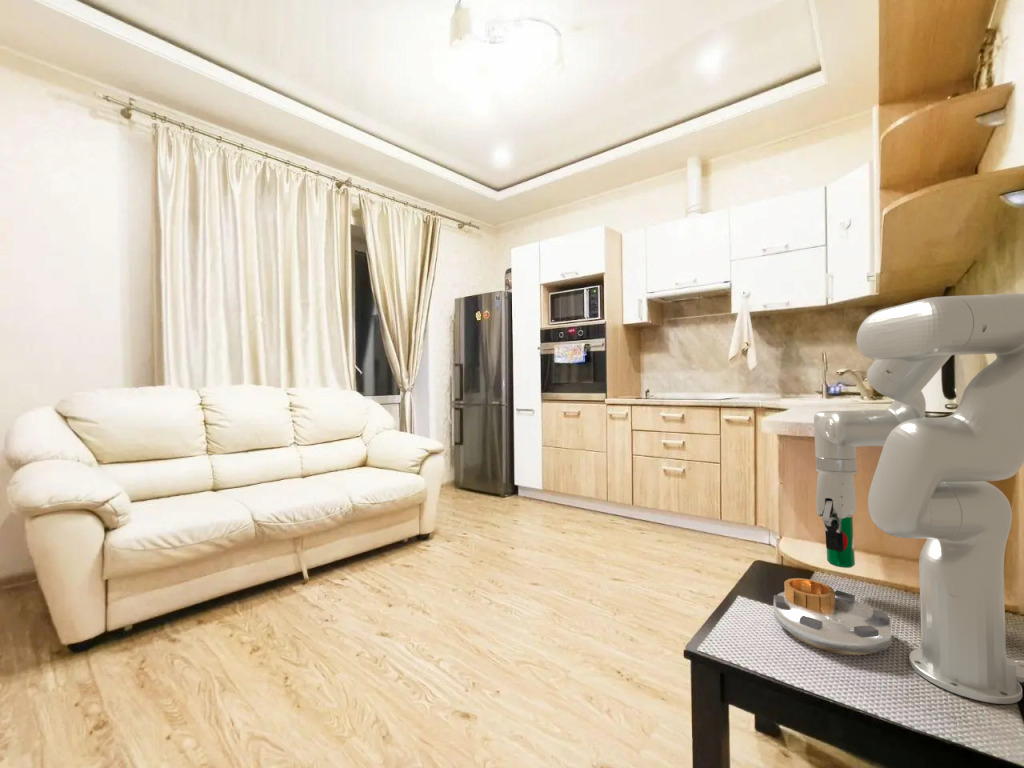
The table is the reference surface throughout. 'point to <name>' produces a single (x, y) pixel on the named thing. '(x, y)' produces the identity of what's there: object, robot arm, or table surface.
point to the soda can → (847, 556)
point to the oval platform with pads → (831, 617)
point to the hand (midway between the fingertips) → (840, 546)
